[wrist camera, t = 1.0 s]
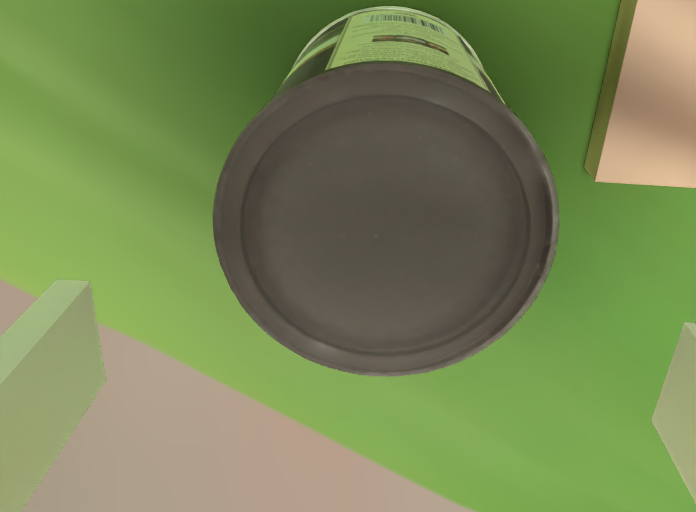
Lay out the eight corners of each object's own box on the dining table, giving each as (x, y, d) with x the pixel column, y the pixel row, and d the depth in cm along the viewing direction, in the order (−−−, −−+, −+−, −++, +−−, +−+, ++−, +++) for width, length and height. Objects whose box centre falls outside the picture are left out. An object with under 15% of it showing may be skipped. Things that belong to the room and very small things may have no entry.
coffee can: (321, 232, 35) (279, 405, 22) (254, 42, 30) (155, 124, 18) (511, 184, 33) (583, 344, 20) (468, -26, 28) (527, 12, 16)
